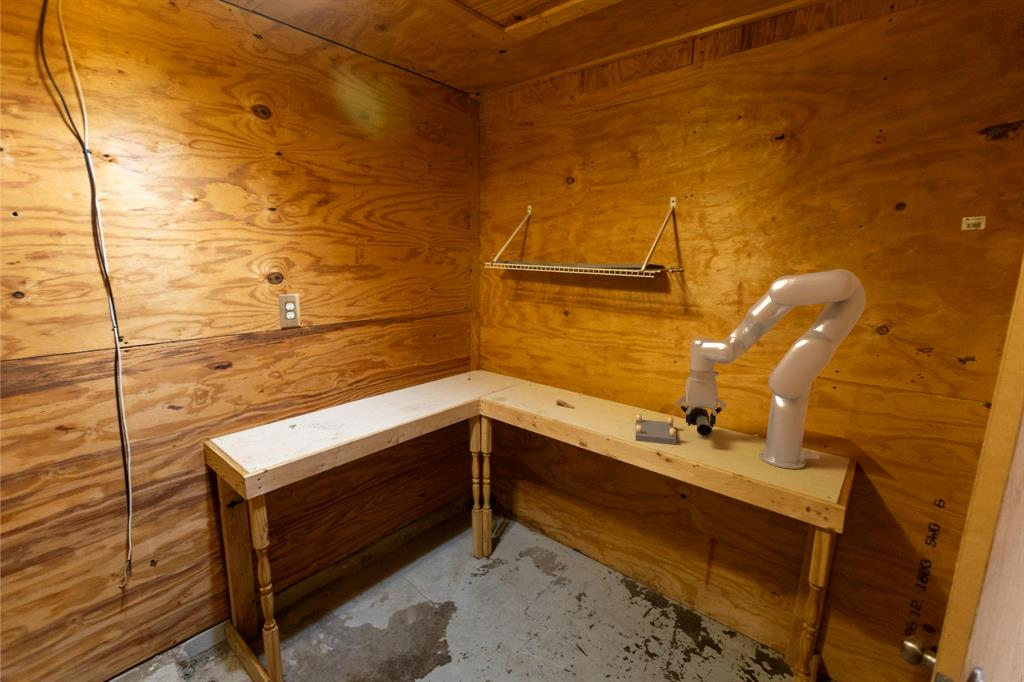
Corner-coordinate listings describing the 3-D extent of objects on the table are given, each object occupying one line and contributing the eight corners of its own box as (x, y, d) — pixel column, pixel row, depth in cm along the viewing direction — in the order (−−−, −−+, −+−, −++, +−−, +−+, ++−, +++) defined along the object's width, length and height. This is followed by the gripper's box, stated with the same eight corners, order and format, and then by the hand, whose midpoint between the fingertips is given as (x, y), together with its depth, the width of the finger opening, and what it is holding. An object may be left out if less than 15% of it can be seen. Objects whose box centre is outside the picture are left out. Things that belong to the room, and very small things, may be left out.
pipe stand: (672, 427, 168) (673, 415, 167) (675, 444, 153) (676, 432, 152) (635, 424, 172) (636, 412, 171) (635, 440, 156) (636, 428, 156)
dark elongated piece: (712, 437, 148) (713, 420, 147) (690, 436, 150) (690, 419, 149) (708, 419, 165) (708, 404, 164) (688, 418, 167) (688, 403, 166)
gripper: (727, 372, 156) (725, 423, 158) (674, 371, 160) (672, 420, 163) (732, 378, 148) (729, 430, 151) (675, 376, 153) (674, 427, 156)
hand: (700, 424), depth 157 cm, fingers closed on dark elongated piece, 6 cm apart
